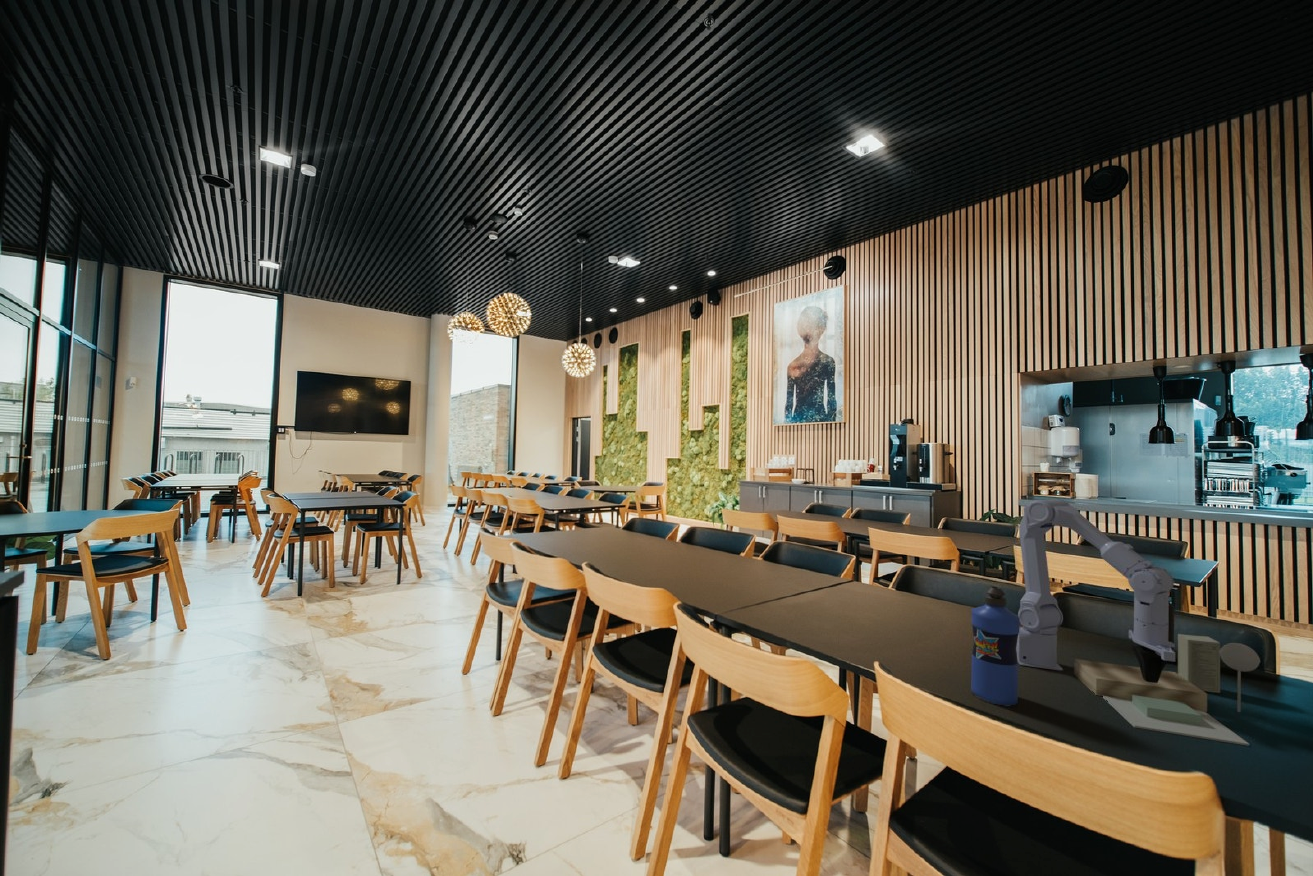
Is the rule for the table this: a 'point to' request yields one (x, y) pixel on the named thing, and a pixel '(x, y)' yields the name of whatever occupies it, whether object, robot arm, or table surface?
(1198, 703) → the riser
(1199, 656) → the skincare box
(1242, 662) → the lollipop
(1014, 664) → the water bottle
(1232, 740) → the mat
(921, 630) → the table surface
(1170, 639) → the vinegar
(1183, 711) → the tile
